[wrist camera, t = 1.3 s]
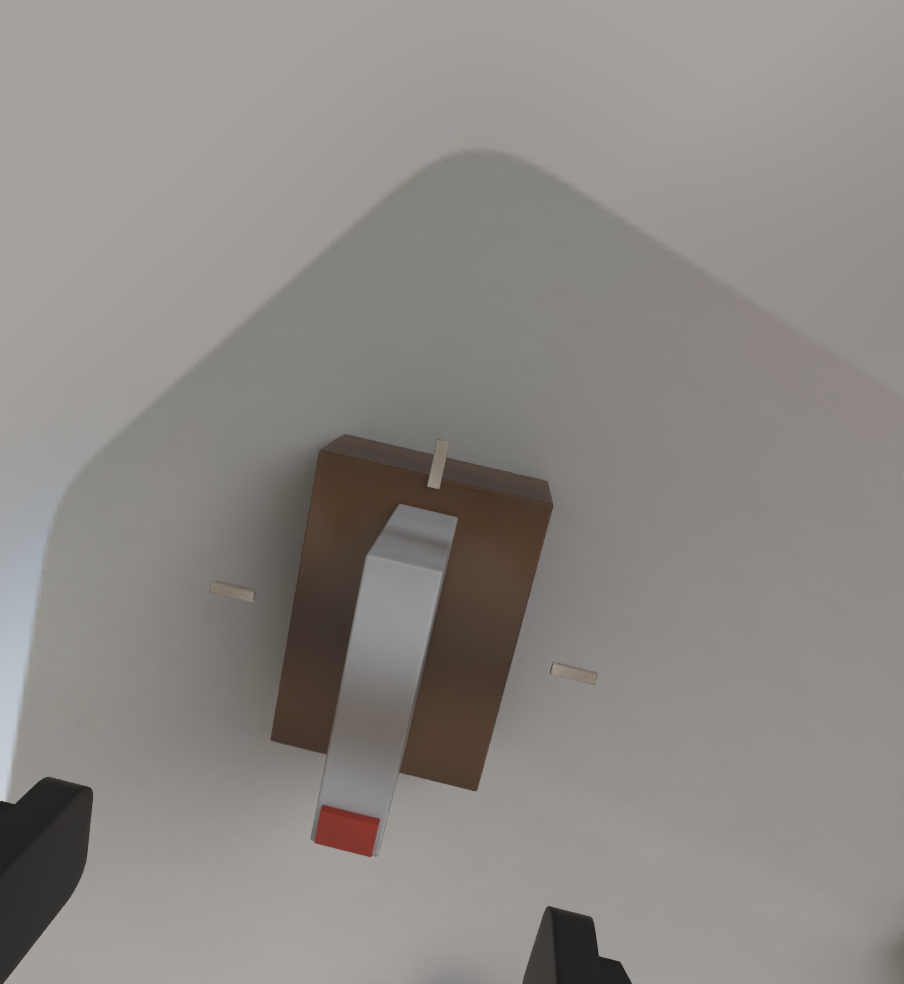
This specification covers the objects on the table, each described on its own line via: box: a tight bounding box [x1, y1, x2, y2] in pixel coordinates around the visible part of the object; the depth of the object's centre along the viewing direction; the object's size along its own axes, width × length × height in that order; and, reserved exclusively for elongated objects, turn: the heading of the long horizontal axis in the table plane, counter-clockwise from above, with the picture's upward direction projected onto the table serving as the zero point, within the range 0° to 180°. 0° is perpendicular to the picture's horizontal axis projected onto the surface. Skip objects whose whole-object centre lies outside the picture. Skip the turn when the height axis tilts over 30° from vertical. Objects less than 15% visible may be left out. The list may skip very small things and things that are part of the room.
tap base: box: [209, 434, 598, 791], centre depth 22 cm, size 12×12×3 cm
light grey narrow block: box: [311, 504, 458, 857], centre depth 18 cm, size 8×2×5 cm, turn 168°
